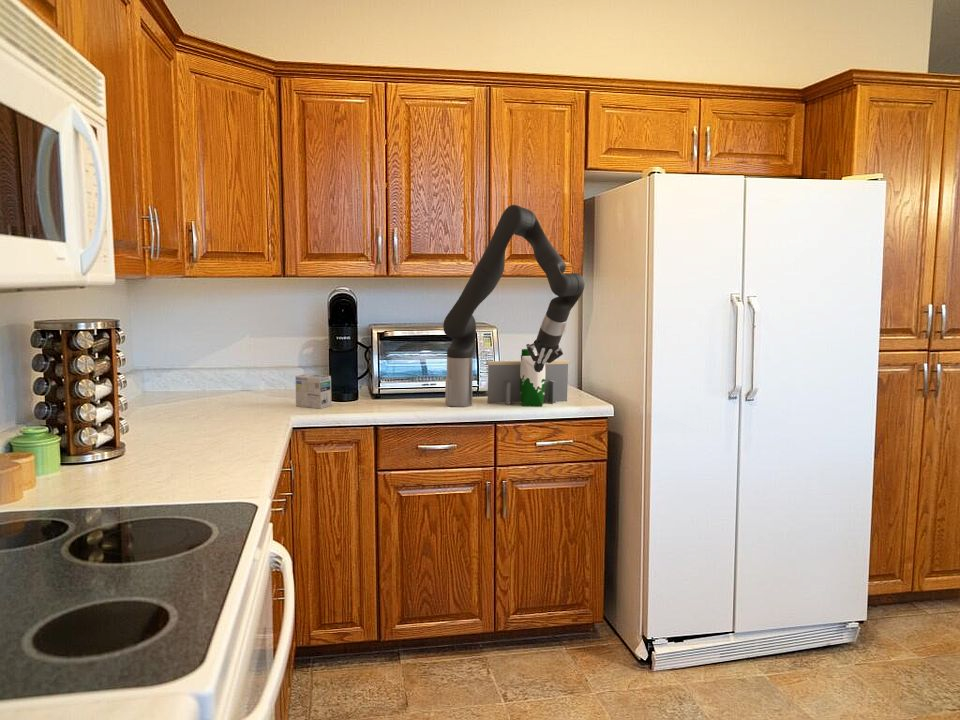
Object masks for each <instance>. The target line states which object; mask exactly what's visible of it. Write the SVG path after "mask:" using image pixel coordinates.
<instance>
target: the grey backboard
mask: <svg viewBox="0 0 960 720" xmlns="http://www.w3.org/2000/svg"><path fill="white" fill-rule="evenodd" d="M485 364H486V365H487V369H488V370H487V403H488V404H503V403H504V404H505V405H506V406H510V405H511V403H522V401H521V395H520V366H521V360H498V361H497V360H490V361H489V360H488V361H487V360H486V361H485ZM569 365H570V360H568V359H565V360H559V359H557V360H554V361H553V362H551V363H545V393H544V399H543V403H544V402H547V403H550V402H551V403H550V404H552V403H556V402H567V401H568V385H569V384H568V382H569V381H568V378H569ZM556 404H557V403H556Z"/></svg>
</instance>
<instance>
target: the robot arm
mask: <svg viewBox="0 0 960 720" xmlns="http://www.w3.org/2000/svg"><path fill="white" fill-rule="evenodd" d="M514 235H515V236H519V237H522V238H523V239H525V240H526V242H528V244H529V245H530V246H531V247H532V251H533V255H534V258H535V261H536V262H537V264H538V265H539V267H540V268H541V270H542V271H543V273H544V274H545V276H546V278H547V282H548V285H549V288H550V290H551V293H553V294H554V295H555V296H556V297H554V298H552V299H550V302H549V303H548V307H547V310H546V313H545V315H544V317H543V319H542V321H541V324H540V328H539V330H538V332H537V333H538V334H537V337H536V339H534V341H533V343H527V344H526V349H527V350H528V352H529V354H530V356H531V358H532V360H533V361H535V364H534V370H535V371H536V372H540V371H542V370H543V367H544V364H545V363H551V362H553V361H557V360H558V359H559V358H560V357H562V356H563V355H564V353H563V349H562V348H561V347H560V345H559V344H561V339H562V337H563V335H564V332H565V330H566V329H565V328H566V326H567V322H568V321H567V320H568V318H569V316H570V313H571V310H572V309H573V308H574V307H575V305H576V304H577V302H578V300H579V299H580V297H581V296H582V295H583V293H584V289H585V285H586V284H585V279H584V277H583V275H581V274H580V273H577V272H571V273H565V271H566V270H567V265H566V262H565V261H564V259H563V258H562V256H561V255H560V254H559V253H558V251H557V250H556V248H555V247H554V246H553V245H552V244H551V242H550V240H549V239H548V237H547V236H546V234H545V232H544V230H543V228H542V226H541V224H540V222H539V220H538V218H537V216H536V215H535V213H534V211H532V210H530V209H527V208H525V207H523V206H520V205H517V204H511V205H509V206H507V208H505V209H504V211H503V212H502V214H501V216H500V218H499V220H498V223H497V226H496V228H495V229H494V232H493V234H492V236H491V238H490V241H489V243H488V245H487V246H486V248H485V249H484V253H483V254H482V256H481V258H480V259H479V261H478V262H477V265H476V266H475V268H474V270H473V272H472V274H471V275H470V278H469V280H468V281H467V283H466V285H465V286H464V289H463V291H462V292H461V294H460V296H459V298H458V300H457V301H456V302H455V304H454V305H453V306H452V308H451V309H450V310H449V312H448V313H447V315H446V316H445V318H444V321H443V325H442V326H443V327H442V328H443V332H444V334H445V336H447V337H448V338H451V340H452V341H451V344H450V345H449V347H448V348H447V350H446V377H445V392H444V393H445V394H444V395H445V396H444V397H445V399H444V400H445V401H444V402H445V404H446V406H449V407H470V406H472V405H473V369H474V368H473V367H474V366H473V365H474V361H473V360H474V358H473V357H474V356H473V355H474V351H475V347H476V340H477V339H476V335H477V323H476V318H475V317H474V315H473V314H474V313H475V311H476V309H477V308H478V307H479V306H480V304H481V303H483V302H484V301H485V300H486V299H487V298H488V296H490V294H492V293H493V291H494V290H495V288H496V287H497V285H498V284H499V281H500V280H501V278H502V276H503V274H504V271H505V264H506V261H505V259H506V250H507V247H508V245H509V243H510V241H511V240H512V237H513V236H514ZM534 351H536V353H535V352H534ZM535 354H537V356H535Z"/></svg>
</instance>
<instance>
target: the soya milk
mask: <svg viewBox="0 0 960 720" xmlns="http://www.w3.org/2000/svg"><path fill="white" fill-rule="evenodd" d="M534 354H535V356H537V353H534ZM520 361H521V366H520V395H521V401H522V402H521V406H522V407H543V404H544V402H543V399H544V393H545V364H544V367H543V370H542V371H540V372H536V371H535V370H534V364H535V361H533V360H532V358H531V356H530V354H529V352H528V350H527V348H523V349H521V355H520Z"/></svg>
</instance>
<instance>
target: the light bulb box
mask: <svg viewBox="0 0 960 720" xmlns="http://www.w3.org/2000/svg"><path fill="white" fill-rule="evenodd" d="M295 405H296V407H303V408H311V409H321V410H322V409H324V408H328V407H330V406H332V376H331V375H322V374H321V375H320V374H310V373H305V374H300V375H295Z"/></svg>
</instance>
